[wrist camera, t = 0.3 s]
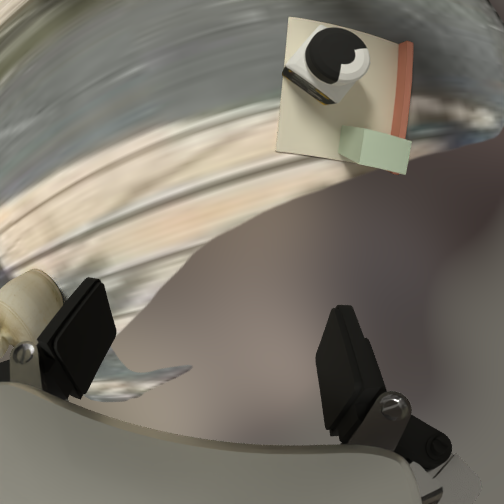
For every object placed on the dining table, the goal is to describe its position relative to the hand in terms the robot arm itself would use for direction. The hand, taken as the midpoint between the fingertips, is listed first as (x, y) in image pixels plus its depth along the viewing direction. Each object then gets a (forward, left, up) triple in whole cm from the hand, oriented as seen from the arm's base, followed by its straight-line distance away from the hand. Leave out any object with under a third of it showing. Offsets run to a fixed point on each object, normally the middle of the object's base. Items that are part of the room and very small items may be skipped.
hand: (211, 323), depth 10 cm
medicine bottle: (-15, +8, -29) cm, 34 cm away
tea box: (-6, +15, -29) cm, 33 cm away
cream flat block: (-13, +12, -29) cm, 34 cm away
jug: (+28, -46, -30) cm, 61 cm away
